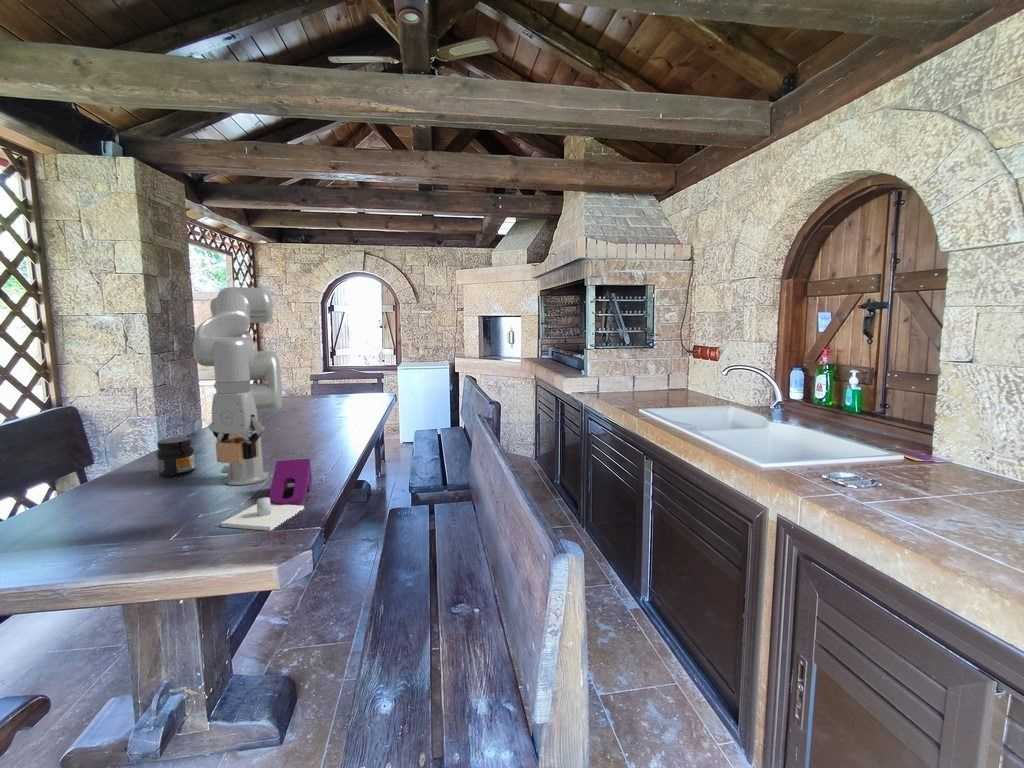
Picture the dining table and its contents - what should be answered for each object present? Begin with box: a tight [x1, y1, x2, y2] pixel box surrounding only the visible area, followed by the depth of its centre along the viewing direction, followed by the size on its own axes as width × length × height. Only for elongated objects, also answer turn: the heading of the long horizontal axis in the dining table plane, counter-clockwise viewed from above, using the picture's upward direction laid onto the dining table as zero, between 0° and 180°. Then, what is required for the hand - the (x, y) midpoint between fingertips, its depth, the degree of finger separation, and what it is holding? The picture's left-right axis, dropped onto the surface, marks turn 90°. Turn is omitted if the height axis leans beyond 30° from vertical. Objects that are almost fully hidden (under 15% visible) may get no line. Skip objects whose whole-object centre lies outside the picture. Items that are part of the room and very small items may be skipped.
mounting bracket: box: [269, 458, 313, 505], centre depth 142 cm, size 10×8×18 cm
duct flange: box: [220, 496, 305, 532], centre depth 127 cm, size 14×14×5 cm
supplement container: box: [155, 436, 196, 479], centre depth 163 cm, size 10×10×12 cm
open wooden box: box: [215, 437, 259, 464], centre depth 122 cm, size 7×7×5 cm
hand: (238, 456), depth 122 cm, fingers closed on open wooden box, 6 cm apart
